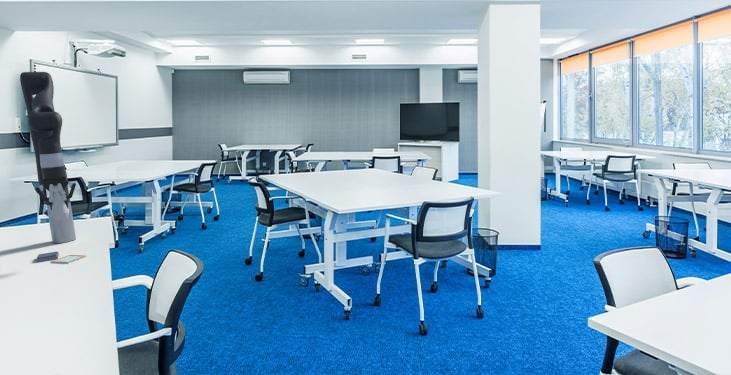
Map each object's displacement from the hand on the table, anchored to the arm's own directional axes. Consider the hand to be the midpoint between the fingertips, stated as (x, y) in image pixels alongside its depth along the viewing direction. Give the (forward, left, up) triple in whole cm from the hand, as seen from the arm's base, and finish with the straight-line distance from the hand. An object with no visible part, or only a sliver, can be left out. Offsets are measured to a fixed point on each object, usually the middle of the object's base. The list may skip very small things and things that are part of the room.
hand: (60, 210), depth 187 cm
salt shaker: (0, 0, -3) cm, 3 cm away
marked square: (0, 0, -19) cm, 19 cm away
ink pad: (-8, -7, -19) cm, 22 cm away
